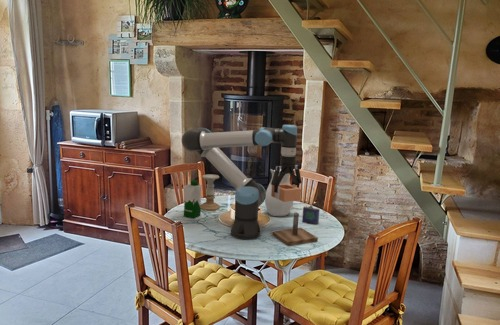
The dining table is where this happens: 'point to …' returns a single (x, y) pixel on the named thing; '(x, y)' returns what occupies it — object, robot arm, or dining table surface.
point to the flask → (310, 215)
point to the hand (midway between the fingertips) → (285, 197)
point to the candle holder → (210, 193)
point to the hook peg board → (293, 238)
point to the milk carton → (192, 200)
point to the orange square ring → (287, 192)
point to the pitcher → (276, 205)
